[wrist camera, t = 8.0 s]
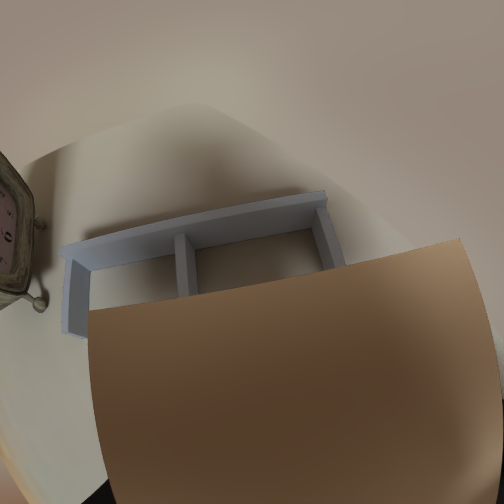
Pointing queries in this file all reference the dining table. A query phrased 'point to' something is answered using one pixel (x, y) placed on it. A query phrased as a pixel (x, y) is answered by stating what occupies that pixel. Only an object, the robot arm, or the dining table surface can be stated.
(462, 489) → the oak block
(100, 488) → the robot arm
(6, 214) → the tabletop clock
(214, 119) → the dining table surface
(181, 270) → the shelf
